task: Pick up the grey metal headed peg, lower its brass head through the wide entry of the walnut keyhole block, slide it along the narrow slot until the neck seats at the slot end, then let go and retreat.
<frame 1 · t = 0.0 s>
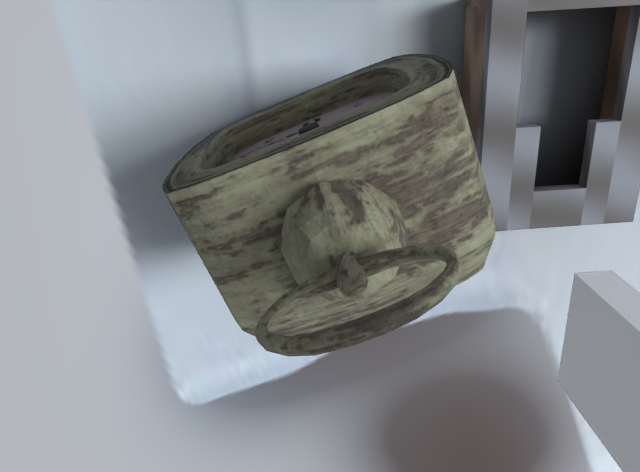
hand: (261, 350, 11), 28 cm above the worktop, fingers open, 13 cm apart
tabletop clock: (323, 145, 37), on the worktop
keyhole block: (535, 106, 37), on the worktop
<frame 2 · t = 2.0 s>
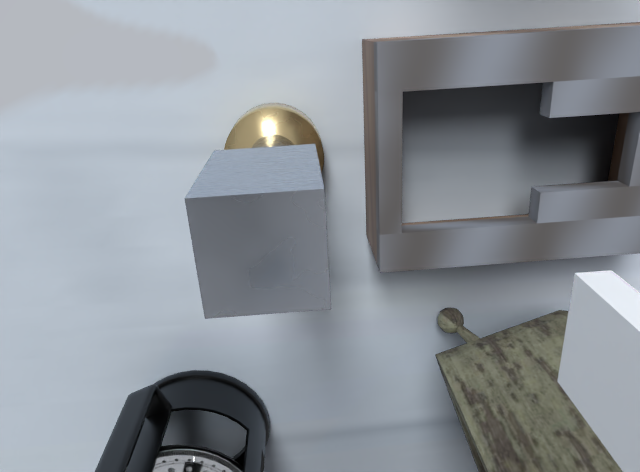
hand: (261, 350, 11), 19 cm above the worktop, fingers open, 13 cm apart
tabletop clock: (505, 358, 35), on the worktop
french press: (199, 417, 35), on the worktop
headed peg: (275, 150, 28), on the worktop
keyhole block: (496, 135, 28), on the worktop
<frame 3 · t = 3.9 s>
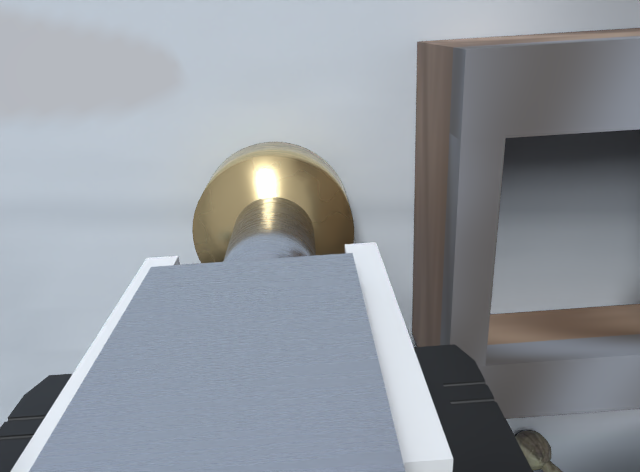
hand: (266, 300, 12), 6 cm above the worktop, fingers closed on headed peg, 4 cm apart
headed peg: (276, 213, 18), on the worktop, touching gripper
keyhole block: (619, 190, 18), on the worktop
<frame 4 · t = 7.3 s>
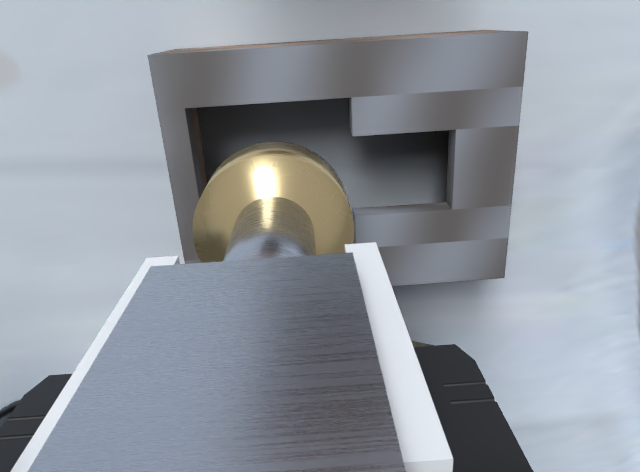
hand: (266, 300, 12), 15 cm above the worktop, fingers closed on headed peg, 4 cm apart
headed peg: (276, 213, 18), point 9 cm above the worktop, touching gripper
keyhole block: (335, 151, 27), on the worktop
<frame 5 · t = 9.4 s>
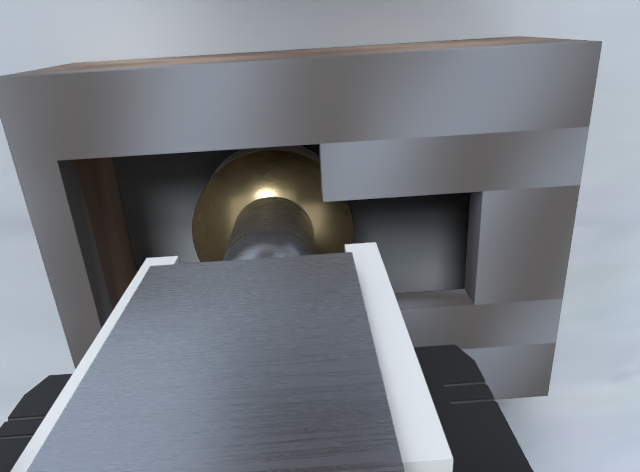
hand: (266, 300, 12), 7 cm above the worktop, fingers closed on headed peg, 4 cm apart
headed peg: (276, 213, 18), point 1 cm above the worktop, touching gripper
keyhole block: (308, 204, 19), on the worktop
when the fingers open (7 cm above the worktop, at t = 11.1 s): headed peg stays where it is, resting in keyhole block.
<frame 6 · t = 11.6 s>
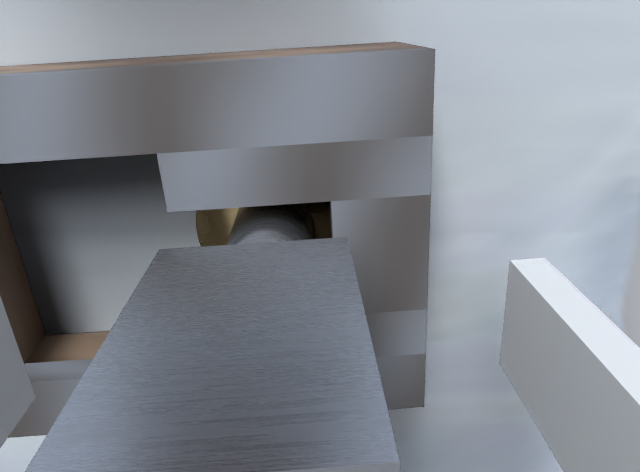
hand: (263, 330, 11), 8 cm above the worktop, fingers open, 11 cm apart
headed peg: (276, 206, 19), resting in keyhole block
keyhole block: (196, 211, 19), on the worktop
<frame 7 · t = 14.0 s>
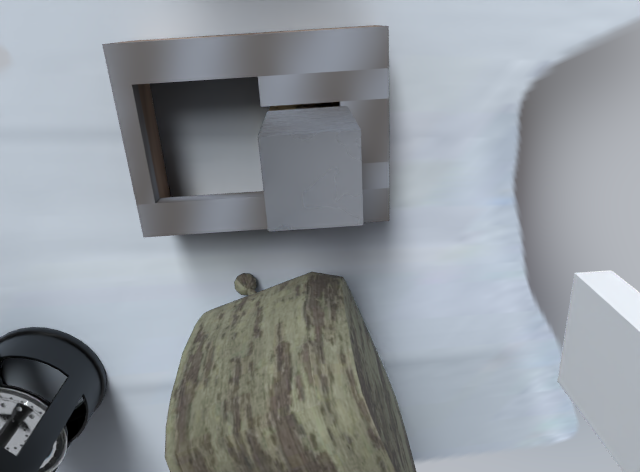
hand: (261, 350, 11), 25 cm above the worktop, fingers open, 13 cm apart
tabletop clock: (308, 320, 40), on the worktop
french press: (44, 369, 40), on the worktop
headed peg: (308, 119, 33), resting in keyhole block
keyhole block: (263, 123, 33), on the worktop
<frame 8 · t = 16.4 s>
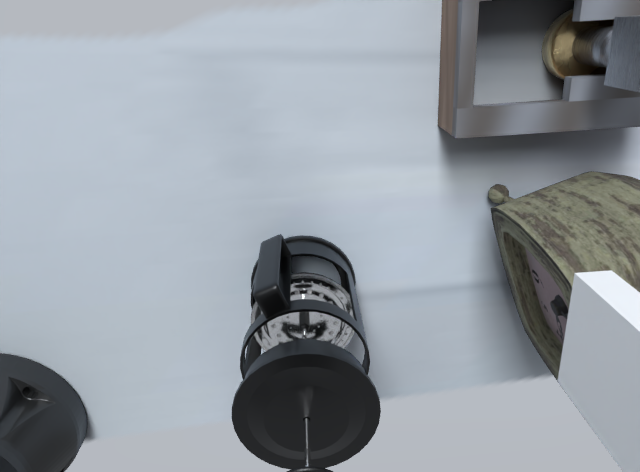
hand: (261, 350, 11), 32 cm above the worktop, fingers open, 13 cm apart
tabletop clock: (537, 231, 45), on the worktop
french press: (300, 277, 46), on the worktop
headed peg: (575, 44, 39), resting in keyhole block
keyhole block: (537, 47, 39), on the worktop
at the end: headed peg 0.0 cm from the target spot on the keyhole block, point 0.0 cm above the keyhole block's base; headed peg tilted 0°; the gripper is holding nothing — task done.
